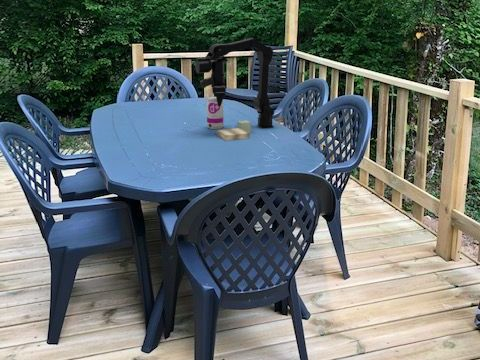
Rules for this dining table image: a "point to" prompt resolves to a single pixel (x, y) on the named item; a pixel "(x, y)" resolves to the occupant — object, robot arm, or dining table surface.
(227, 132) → the base slab
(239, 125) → the cube
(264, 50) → the robot arm
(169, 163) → the dining table surface
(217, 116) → the supplement can
